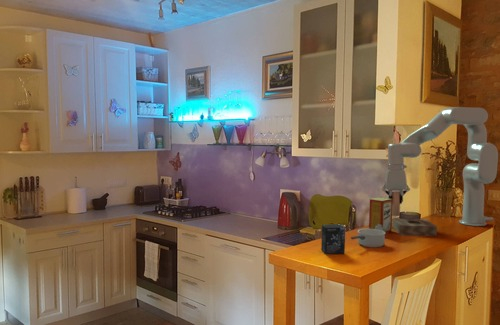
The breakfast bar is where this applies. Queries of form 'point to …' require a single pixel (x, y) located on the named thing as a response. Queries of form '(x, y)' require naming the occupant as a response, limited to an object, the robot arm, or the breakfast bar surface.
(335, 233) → the box
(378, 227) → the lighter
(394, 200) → the peg
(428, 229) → the socket block
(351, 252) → the breakfast bar surface
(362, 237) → the saucepan
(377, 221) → the baking soda box
